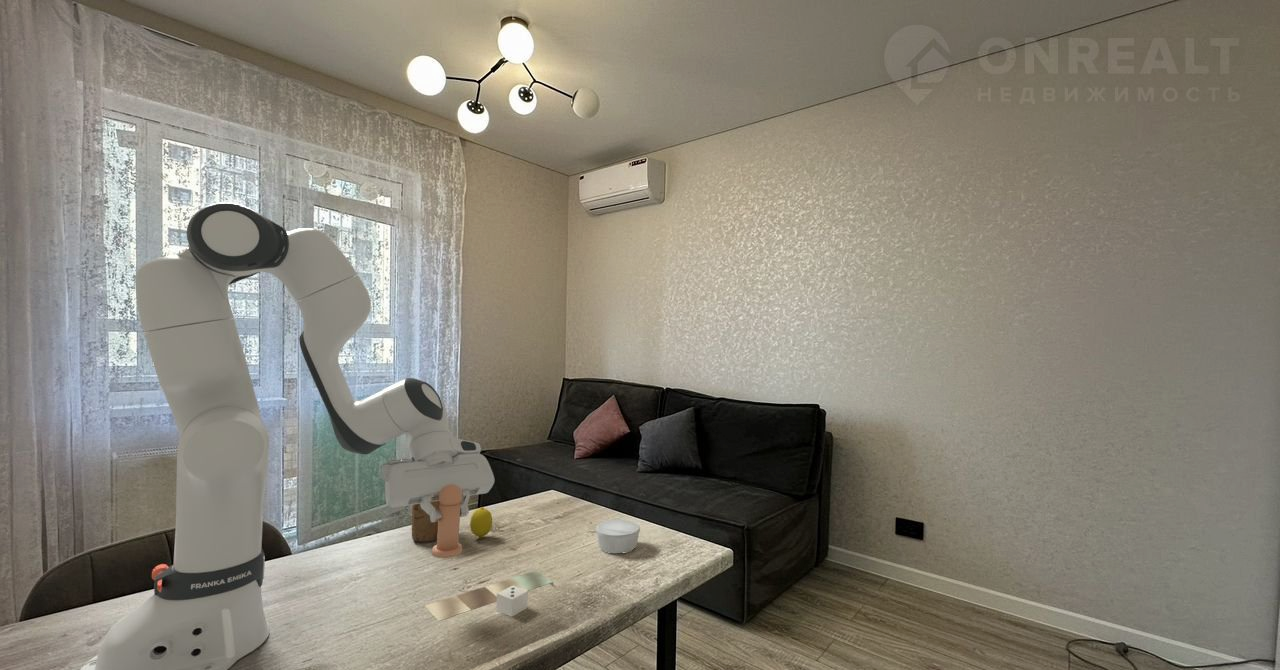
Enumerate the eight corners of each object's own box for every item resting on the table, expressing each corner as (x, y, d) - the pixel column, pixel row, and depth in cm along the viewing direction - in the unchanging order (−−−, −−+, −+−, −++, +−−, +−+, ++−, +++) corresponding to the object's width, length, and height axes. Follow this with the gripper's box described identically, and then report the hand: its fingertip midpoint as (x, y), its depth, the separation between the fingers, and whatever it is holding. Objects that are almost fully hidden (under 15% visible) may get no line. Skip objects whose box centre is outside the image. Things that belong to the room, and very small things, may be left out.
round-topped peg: (438, 560, 91) (442, 489, 91) (428, 551, 95) (432, 483, 95) (466, 553, 94) (470, 485, 95) (455, 545, 98) (459, 480, 99)
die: (511, 621, 92) (512, 599, 92) (496, 615, 94) (496, 593, 94) (527, 612, 95) (527, 590, 95) (512, 606, 97) (512, 585, 98)
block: (441, 542, 128) (444, 463, 129) (409, 545, 126) (412, 464, 127) (445, 527, 138) (447, 454, 139) (415, 529, 136) (418, 455, 137)
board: (438, 625, 90) (438, 620, 90) (424, 609, 95) (424, 605, 95) (553, 585, 106) (553, 581, 106) (535, 574, 111) (535, 570, 111)
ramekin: (599, 558, 121) (599, 536, 121) (592, 540, 132) (592, 520, 132) (644, 554, 124) (644, 533, 124) (634, 538, 135) (634, 518, 135)
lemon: (465, 538, 131) (466, 507, 131) (482, 532, 135) (483, 502, 136) (478, 543, 128) (479, 512, 128) (496, 537, 132) (497, 506, 133)
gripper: (383, 451, 94) (396, 518, 86) (486, 442, 107) (506, 500, 100) (374, 471, 97) (386, 537, 89) (476, 460, 110) (494, 517, 103)
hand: (450, 517), depth 94 cm, fingers closed on round-topped peg, 4 cm apart
